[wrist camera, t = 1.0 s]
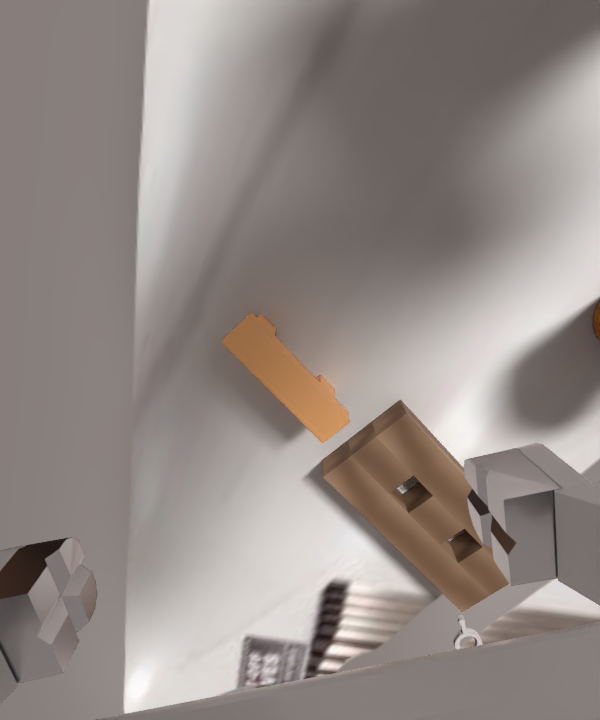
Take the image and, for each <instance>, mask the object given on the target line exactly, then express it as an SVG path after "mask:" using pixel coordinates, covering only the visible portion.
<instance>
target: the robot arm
mask: <svg viewBox="0 0 600 720" xmlns="http://www.w3.org/2000/svg"><path fill="white" fill-rule="evenodd" d="M464 473H465V479H466V480H467V482H468V483H469V484H470V486H471V487H472V490H471V491H470V493H469V495H468V497H467V500H468V508H469V513H470V517H471V520H472V523H473V526H474V528H475V531H476V533H477V535H478V536H479V538H480V540H481V541H482V543H483V544H484V545H486V546H488V547H490V548H492V549H493V559H494V561H495V563H496V564H497V566H498V567H499V569H500V570H501V572H502V573H503V575H504V576H505V578H506V579H507V581H508V582H509V584H510V585H511V586H514V585H520V584H526V583H532V582H538V581H543V580H550V579H556V578H558V581H560V582H562V583H563V584H565V585H567V586H568V587H570V588H572V589H573V590H575V591H577V592H578V593H580V594H582V595H583V596H585V597H587V598H588V599H590V600H592V601H593V602H595V603H597V604H598V605H600V482H595V483H591V482H589V481H588V480H587V479H585V478H584V477H583V476H582V475H581V474H579V473H578V472H577V471H576V470H574V469H573V468H572V467H571V466H569V465H568V464H567V463H565V462H564V461H563V460H562V459H560V458H559V457H558V456H557V455H555V454H554V453H553V452H552V451H550V450H549V449H548V448H547V447H545V446H544V445H543V444H539V443H535V444H531V445H526V446H522V447H518V448H514V449H510V450H505V451H501V452H497V453H492V454H488V455H483V456H479V457H474V458H470V459H466V460H465V462H464ZM84 554H85V553H84V551H83V549H82V547H81V544H80V542H79V540H77V539H75V538H73V537H71V538H65V539H59V540H53V541H47V542H42V543H36V544H31V545H26V546H19V547H14V548H9V549H5V550H2V551H0V704H1V703H2V702H3V701H4V700H5V699H6V698H7V697H8V696H9V695H10V694H11V693H12V692H13V691H14V690H15V689H16V688H17V686H18V683H22V682H26V681H31V680H35V679H40V678H44V677H49V676H53V675H57V674H62V673H64V671H65V669H66V667H67V665H68V663H69V661H70V659H71V657H72V655H73V653H74V651H75V649H76V647H77V645H78V643H79V638H78V635H77V632H78V631H79V630H80V629H81V628H82V627H84V625H86V624H87V623H88V622H89V621H90V619H91V616H92V614H93V612H94V610H95V605H96V599H97V588H96V581H95V579H94V576H93V573H92V571H90V570H89V569H87V568H86V567H85V566H83V565H82V564H81V563H82V560H83V557H84ZM96 720H600V622H598V623H593V624H588V625H583V626H578V627H573V628H568V629H562V630H557V631H552V632H547V633H542V634H536V635H531V636H526V637H521V638H516V639H511V640H505V641H500V642H495V643H490V644H485V645H479V646H474V647H469V648H464V649H459V650H453V651H449V652H443V653H438V654H433V655H428V656H422V657H417V658H412V659H407V660H401V661H397V662H391V663H386V664H381V665H376V666H370V667H365V668H360V669H355V670H350V671H344V672H339V673H334V674H329V675H324V676H318V677H313V678H308V679H303V680H298V681H293V682H288V683H282V684H277V685H272V686H267V687H262V688H257V689H252V690H247V691H241V692H237V693H231V694H226V695H221V696H216V697H211V698H205V699H200V700H195V701H190V702H185V703H180V704H174V705H169V706H164V707H159V708H154V709H148V710H143V711H138V712H133V713H128V714H122V715H118V716H112V717H107V718H102V719H96Z"/></svg>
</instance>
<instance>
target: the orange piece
mask: <svg viewBox="0 0 600 720" xmlns="http://www.w3.org/2000/svg"><path fill="white" fill-rule="evenodd" d="M275 333H276V328H275V327H274V326H273V325H272V324H271V323H270V322H269V321H268V320H267V319H266V318H265V317H264V316H263V315H262V314H260V315H259V316H258V317H256V316H255V315H254V314H253V313H252V312H251V313H250V314H248V315H247V316H246V317H245V318H244V319H243V320H242V321H241V322H240V323H239V324H238V325H237V326H236V327H234V328H233V329H232V330H231V331H230V332H229V333H228V334H227V335H226V336H225V338H224V339H223V340H222V342H221V343H222V344H223V345H224V346H225V347H226V348H227V349H228V350H229V351H230V352H231V353H232V354H233V355H234V356H235V357H236V358H237V359H238V360H239V361H240V362H241V363H242V364H243V365H244V366H245V367H246V368H247V369H248V370H249V371H250V372H251V373H252V374H253V375H254V376H255V377H256V378H257V379H258V380H259V381H260V382H261V383H262V384H263V385H264V386H265V387H266V388H267V389H268V390H270V391H271V392H272V393H273V394H274V395H275V396H276V397H277V398H278V399H279V400H280V401H281V402H282V403H283V404H284V405H285V406H286V407H287V408H288V409H289V410H290V411H291V412H292V413H293V414H294V415H295V416H296V417H297V418H298V419H299V420H300V421H301V422H302V423H303V424H304V425H305V426H306V427H307V428H308V429H309V430H310V431H311V432H312V433H313V434H314V435H315V436H316V437H317V438H318V439H319V440H320V441H321V442H322V443H324V442H325V441H326V440H328V439H329V438H330V437H331V436H333V435H334V434H335V433H337V432H338V431H339V430H340V429H342V428H343V427H344V426H345V425H347V424H348V423H349V422H350V420H349V414H348V411H347V410H346V409H345V408H344V407H343V406H342V405H341V404H340V403H339V402H338V401H337V400H336V399H335V391H334V389H333V388H332V386H331V385H330V384H329V383H328V382H327V381H326V380H325V379H324V378H323V377H322V376H321V375H320V376H318V377H317V378H315V377H314V376H313V375H312V374H311V373H310V372H309V371H308V370H307V369H306V367H305V366H304V365H303V364H302V363H301V362H300V361H299V360H298V359H297V358H296V357H295V356H294V355H293V354H292V353H291V352H290V351H289V350H288V349H287V348H286V347H285V346H284V345H283V344H282V343H281V342H280V341H279V340H278V339H277V337H276V336H275Z"/></svg>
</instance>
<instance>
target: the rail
mask: <svg viewBox="0 0 600 720" xmlns="http://www.w3.org/2000/svg"><path fill="white" fill-rule="evenodd" d="M322 466H323V478H324V479H325V480H326V481H327V482H328V483H329V484H330V485H331V486H332V487H333V488H334V489H335V490H336V491H337V492H339V493H340V494H341V495H342V496H343V497H344V498H345V499H346V500H347V501H348V502H349V503H350V504H351V505H352V506H353V507H354V508H355V509H356V510H357V511H358V512H359V513H360V514H361V515H362V516H363V517H364V518H365V519H366V520H367V521H368V522H370V523H371V524H372V525H373V526H374V527H375V528H376V529H377V530H378V531H379V532H380V533H381V534H382V535H383V536H384V537H385V538H386V539H387V540H388V541H389V542H390V543H391V544H392V545H393V546H394V547H395V548H396V549H397V550H398V551H399V552H401V553H402V554H403V555H404V556H405V557H406V558H407V559H408V560H409V561H410V562H411V563H412V564H413V565H414V566H415V567H416V568H417V569H418V570H419V571H420V572H421V573H422V574H423V575H424V576H425V577H426V578H427V579H428V580H429V581H430V582H431V583H433V584H434V585H435V586H436V587H437V588H438V589H439V590H440V591H441V592H442V593H443V594H444V595H445V596H446V597H447V598H448V599H449V600H450V601H451V602H452V603H453V604H454V605H455V606H456V607H457V608H458V609H459V610H460V611H461V612H463V611H464V610H466V609H468V608H470V607H471V606H473V605H475V604H476V603H478V602H480V601H481V600H483V599H485V598H486V597H488V596H489V595H491V594H493V593H495V592H496V591H498V590H499V589H501V588H503V587H504V586H506V585H508V584H509V582H508V581H507V579H506V578H505V576H504V575H503V573H502V572H501V570H500V569H499V567H498V566H497V564H496V563H495V561H494V559H493V549H492V548H490V547H488V546H486V545H484V544H483V543H482V541H481V540H480V538H479V536H478V535H477V533H476V531H475V528H474V526H473V523H472V520H471V517H470V513H469V508H468V500H467V497H468V495H469V493H470V491H471V490H472V487H471V486H470V484H469V483H468V482H467V480H466V479H465V473H464V468H463V467H462V466H461V465H460V464H459V463H458V462H457V460H456V459H455V458H454V457H453V456H452V455H451V454H450V453H449V452H448V451H447V450H446V448H445V447H444V446H443V445H442V444H441V443H440V442H439V441H438V440H437V439H436V438H435V437H434V435H433V434H432V433H431V432H430V431H429V430H428V429H427V428H426V427H425V426H424V425H423V424H422V422H421V421H420V420H419V419H418V418H417V417H416V416H415V415H414V414H413V413H412V412H411V410H410V409H409V408H408V407H407V406H406V405H405V404H404V403H403V402H402V401H401V400H399V401H398V402H397V403H396V404H394V405H393V406H392V407H390V408H389V409H388V410H387V411H385V412H384V413H383V414H381V415H380V416H379V417H378V418H376V419H375V420H374V421H372V422H371V423H370V424H369V425H367V426H366V427H365V428H363V429H362V430H361V431H359V432H358V433H357V434H356V435H354V436H353V437H352V438H350V439H349V440H348V441H347V442H345V443H344V444H343V445H341V446H340V447H339V448H338V449H336V450H335V451H334V452H332V453H331V454H330V455H329V456H327V457H326V458H325V459H323V460H322ZM412 476H415V478H416V479H417V480H418V481H419V482H420V483H418V484H417V485H415V486H414V487H413V488H411V489H410V490H408V491H407V492H405V493H404V494H402V493H401V492H400V491H399V490H398V489H397V487H399V486H400V485H401V484H403V483H404V482H405V481H407V480H408V479H410V478H411V477H412ZM463 529H466V530H467V531H466V532H464V533H463V534H461V535H460V536H458V537H457V538H455V539H454V540H452V541H451V542H449V541H448V539H450V538H451V537H453V536H454V535H456V534H457V533H459V532H460V531H462V530H463Z"/></svg>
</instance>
